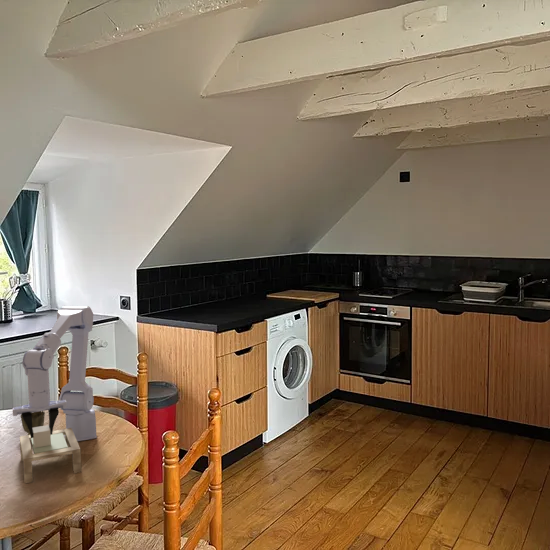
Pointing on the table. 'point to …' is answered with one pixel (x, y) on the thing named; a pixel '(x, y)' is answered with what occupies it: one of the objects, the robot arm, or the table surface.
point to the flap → (52, 444)
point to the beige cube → (41, 436)
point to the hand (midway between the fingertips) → (41, 434)
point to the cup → (34, 421)
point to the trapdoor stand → (49, 452)
